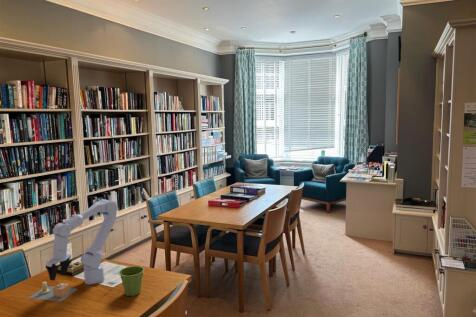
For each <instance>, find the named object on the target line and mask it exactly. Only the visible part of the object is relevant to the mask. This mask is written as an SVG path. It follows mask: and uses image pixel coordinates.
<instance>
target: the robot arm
mask: <svg viewBox="0 0 476 317" xmlns="http://www.w3.org/2000/svg"><path fill="white" fill-rule="evenodd" d="M118 209H119V206H118V204H117V202H116V201H114V200H110V199H109V200H108V199H106V198H102V199H99V200H98V201H96V202H94V204H93V205H91V206H90V207H89V208H87V209H86V210H83V212H81V213H80V214H78V213H75V214H72V215H71V216H70V217H69V218H67V219H65V220H63V221H62V222H59V223H56V224H55V225H54V227H53V229H52V230H51V231H52V233H53V234H54V239H53V240H54V241H53V250H52V251H53V252H52V257H50V260H49V261H46V264H45V268H46V270H47V272H48V276H49V280H50V281H54V282H55V280H56V277H57V272H58V270H59V267H60V276H66V274H67V272H68V269H69V267H70V265H71V263H72V261H73V260H72V254H68V251H67V250H68V240H69V236H70V234H71V233H72V231H74V230H75V229H76V228H78V227H80V226H82V225H83V224H84V221H85V220H87V219H88V218H90V217H92V216H94V215H95V214H97V213H101V214H102V216H103V221H102V223H101V225H100V227H99V229H98V231H97V233H96V236H95V238H94V240H93V241H92V244H91V245H90V247H89V248H87V249H86V251H85V252H84V253H83V254H82V255H81V257H80V263H81V264H82V265H83V277H84V278H83V279H84V284H85V285H94V284H98V283H104V281H105V275H104V265H101V264H102V257H103V251H102V250H103V247H104V245H105V243H106V241H107V238H108V237H109V235H110V232H111V231H112V229H113V226H114V224H115V221H116V219H117V212H118ZM56 264H59V265H60V266H59V265H56Z"/></svg>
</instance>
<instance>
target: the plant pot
mask: <svg viewBox="0 0 476 317" xmlns="http://www.w3.org/2000/svg"><path fill="white" fill-rule="evenodd" d="M144 271H145V268H144V267H143V266H141V265H140V266H139V265H130V266H126V267H124V268H121V269H120V270H119V271H118V274H119V276H120V279H121V282H122V287H123V291H124V294H125V296H127V297H130V296H131V297H134V296H138V295H139V294H140V293H141V291H142V290H141V289H142V282H143V275H144Z"/></svg>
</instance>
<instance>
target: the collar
mask: <svg viewBox="0 0 476 317" xmlns="http://www.w3.org/2000/svg"><path fill="white" fill-rule="evenodd" d="M59 284H61V282H60V283H59ZM59 284H57V285H56V286H53V287H54V288H53V295H54V296H55V297H64V296H65V295H67V294H68V293H69V292H70V288H71V286H70V283H63V288H60V287H59Z"/></svg>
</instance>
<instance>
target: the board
mask: <svg viewBox="0 0 476 317" xmlns="http://www.w3.org/2000/svg"><path fill="white" fill-rule="evenodd" d="M47 283H48V282H47V281H43V282H42V283H41V288H40V289H39V290H38V291H36V292H35V293H33V294H32V295H30V296H28V297H27V299H31V300H32V299H33V300H43V301H53V302H62V301H64V300H65V299H67V298H69V297H70V296H71V295H72V294H73V293H75V292H76V291H77V290H78V288H72V287H70V292H69V293H68V294H67V295H65V296H64V297H55V296H54V295H53V288H54V287H55V286H49V285H48V284H47ZM60 283H61V282H60ZM60 283H59V284H58V285H59V287H60V288H63V284H64V283H61V284H60Z"/></svg>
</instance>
